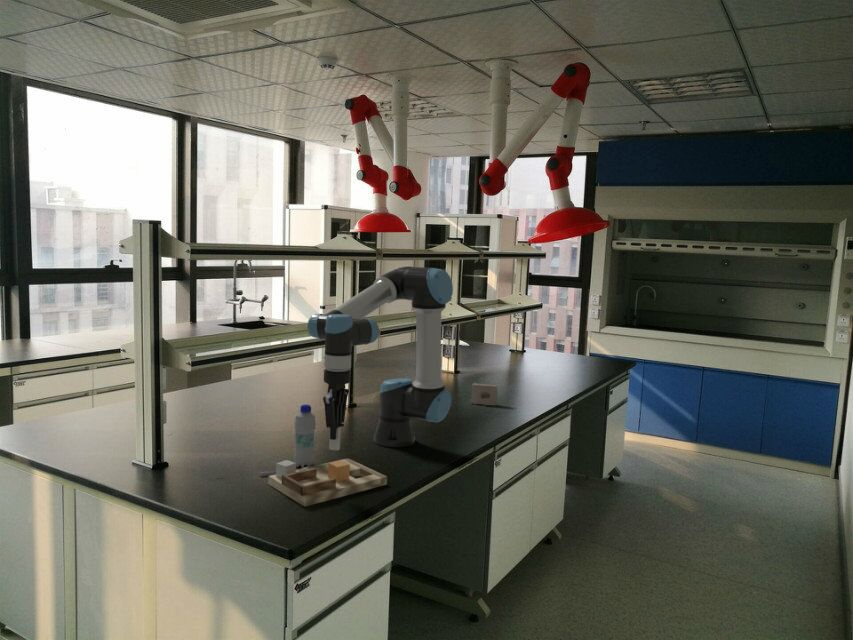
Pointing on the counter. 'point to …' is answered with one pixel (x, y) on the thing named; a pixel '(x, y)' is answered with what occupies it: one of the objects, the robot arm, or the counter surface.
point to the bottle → (304, 437)
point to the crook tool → (267, 473)
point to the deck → (342, 487)
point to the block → (285, 468)
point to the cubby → (294, 485)
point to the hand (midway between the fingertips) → (334, 449)
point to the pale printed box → (484, 394)
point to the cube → (338, 470)
